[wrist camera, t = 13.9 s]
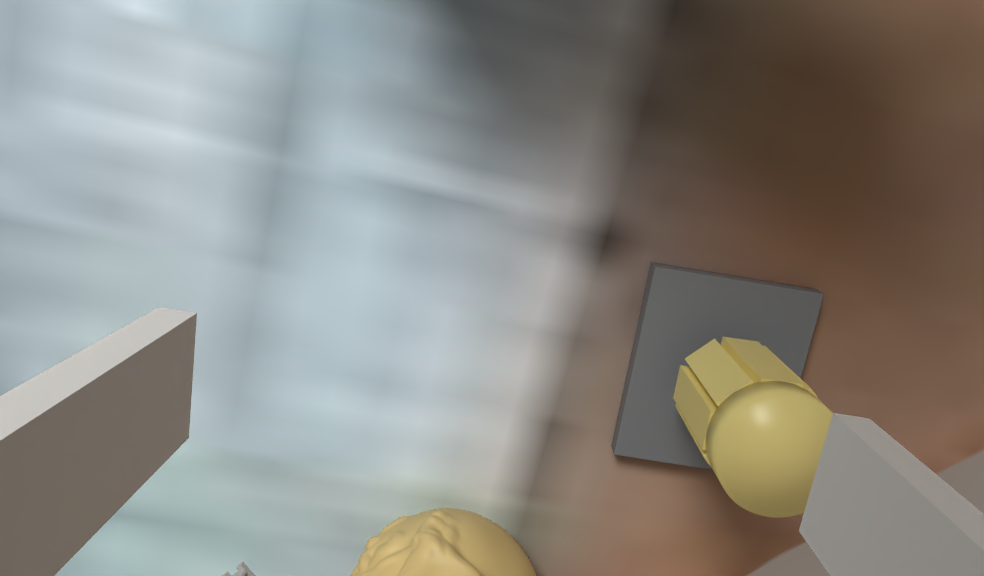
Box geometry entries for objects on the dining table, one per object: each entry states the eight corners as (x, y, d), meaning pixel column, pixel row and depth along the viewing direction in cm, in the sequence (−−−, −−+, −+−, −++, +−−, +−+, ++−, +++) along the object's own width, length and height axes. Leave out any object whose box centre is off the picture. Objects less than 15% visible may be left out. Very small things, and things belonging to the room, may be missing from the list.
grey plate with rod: (651, 262, 43) (693, 305, 33) (815, 289, 43) (905, 339, 34) (611, 445, 46) (640, 534, 36) (766, 470, 46) (835, 565, 36)
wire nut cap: (687, 331, 40) (732, 388, 32) (793, 346, 40) (865, 406, 32) (666, 429, 42) (704, 508, 34) (769, 444, 42) (832, 525, 34)
